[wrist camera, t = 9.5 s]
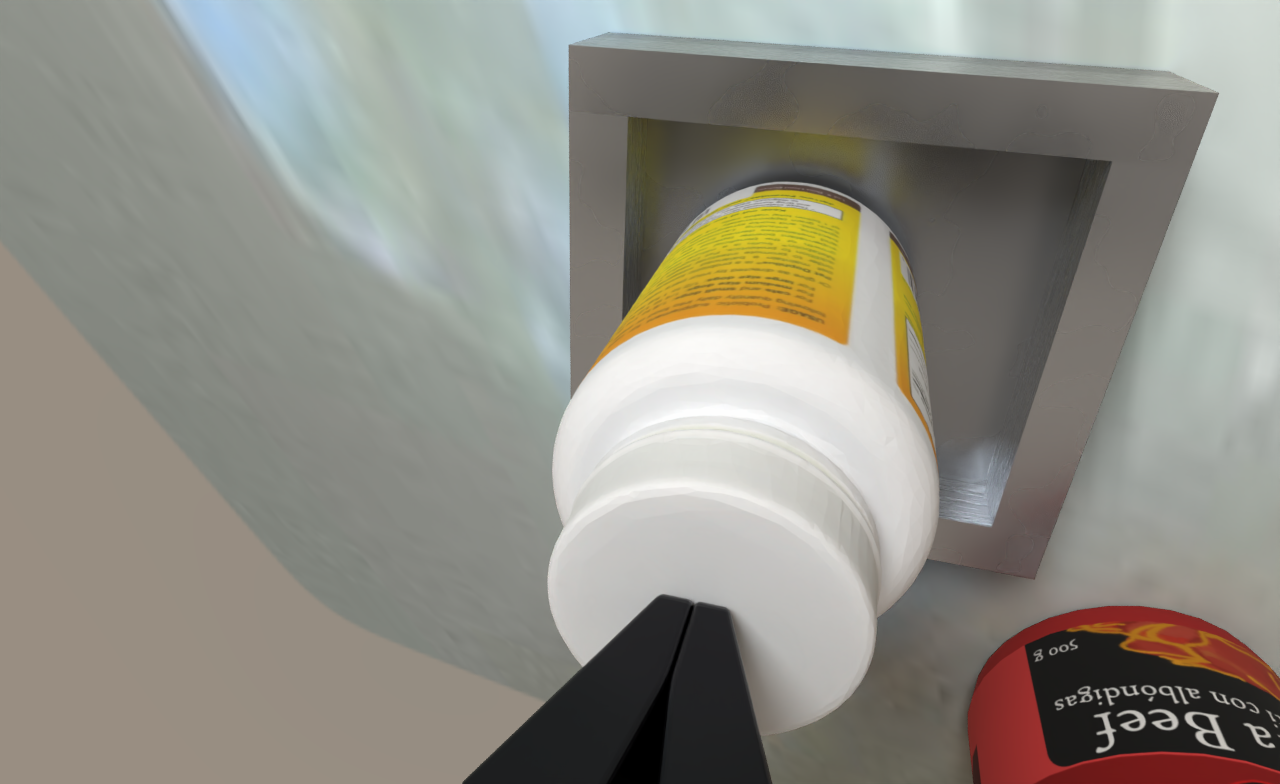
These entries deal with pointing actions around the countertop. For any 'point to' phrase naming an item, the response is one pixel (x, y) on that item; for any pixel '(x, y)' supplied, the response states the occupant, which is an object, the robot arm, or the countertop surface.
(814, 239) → the supplement bottle
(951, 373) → the square metal tray
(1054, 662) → the canned food
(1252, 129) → the countertop surface
